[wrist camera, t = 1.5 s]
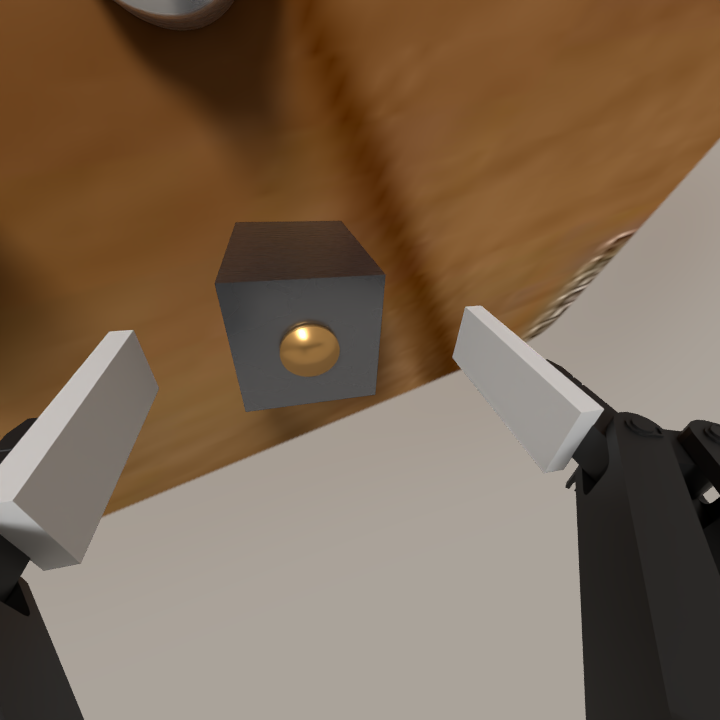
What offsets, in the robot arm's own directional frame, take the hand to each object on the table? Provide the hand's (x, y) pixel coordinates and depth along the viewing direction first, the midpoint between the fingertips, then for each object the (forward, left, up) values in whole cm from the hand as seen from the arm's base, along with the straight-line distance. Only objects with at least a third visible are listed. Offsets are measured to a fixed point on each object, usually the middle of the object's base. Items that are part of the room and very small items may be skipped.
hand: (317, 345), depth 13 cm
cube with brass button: (0, 0, -9) cm, 9 cm away
